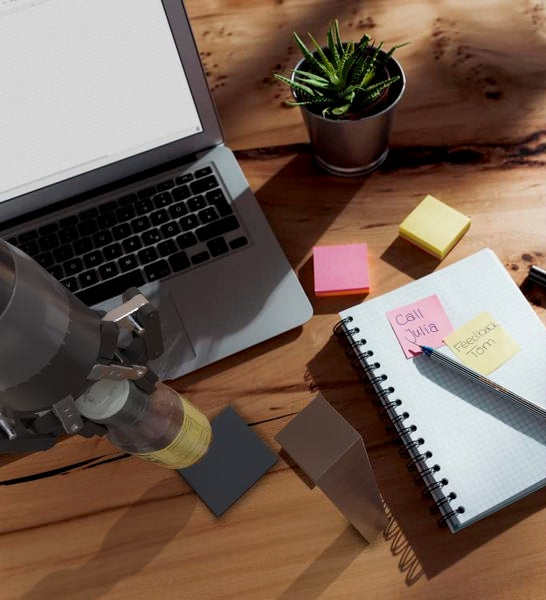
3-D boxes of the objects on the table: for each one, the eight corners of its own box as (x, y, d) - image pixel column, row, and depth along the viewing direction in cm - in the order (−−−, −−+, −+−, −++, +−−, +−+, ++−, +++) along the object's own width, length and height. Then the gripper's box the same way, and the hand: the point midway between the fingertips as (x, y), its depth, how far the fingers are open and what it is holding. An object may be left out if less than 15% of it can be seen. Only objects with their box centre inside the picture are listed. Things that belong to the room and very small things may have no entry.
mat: (219, 517, 74) (217, 517, 73) (170, 460, 77) (168, 459, 76) (279, 460, 76) (278, 459, 76) (230, 406, 79) (229, 405, 79)
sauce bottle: (141, 437, 66) (34, 382, 47) (192, 396, 67) (108, 327, 49) (178, 488, 64) (81, 451, 45) (230, 444, 65) (157, 391, 47)
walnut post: (370, 543, 73) (315, 482, 31) (351, 523, 74) (272, 437, 31) (389, 523, 74) (361, 436, 31) (370, 503, 74) (319, 393, 32)
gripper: (68, 201, 39) (167, 313, 54) (-159, 367, 35) (18, 435, 51) (144, 282, 37) (224, 374, 52) (-89, 468, 33) (73, 507, 48)
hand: (122, 404), depth 51 cm, fingers closed on sauce bottle, 4 cm apart
